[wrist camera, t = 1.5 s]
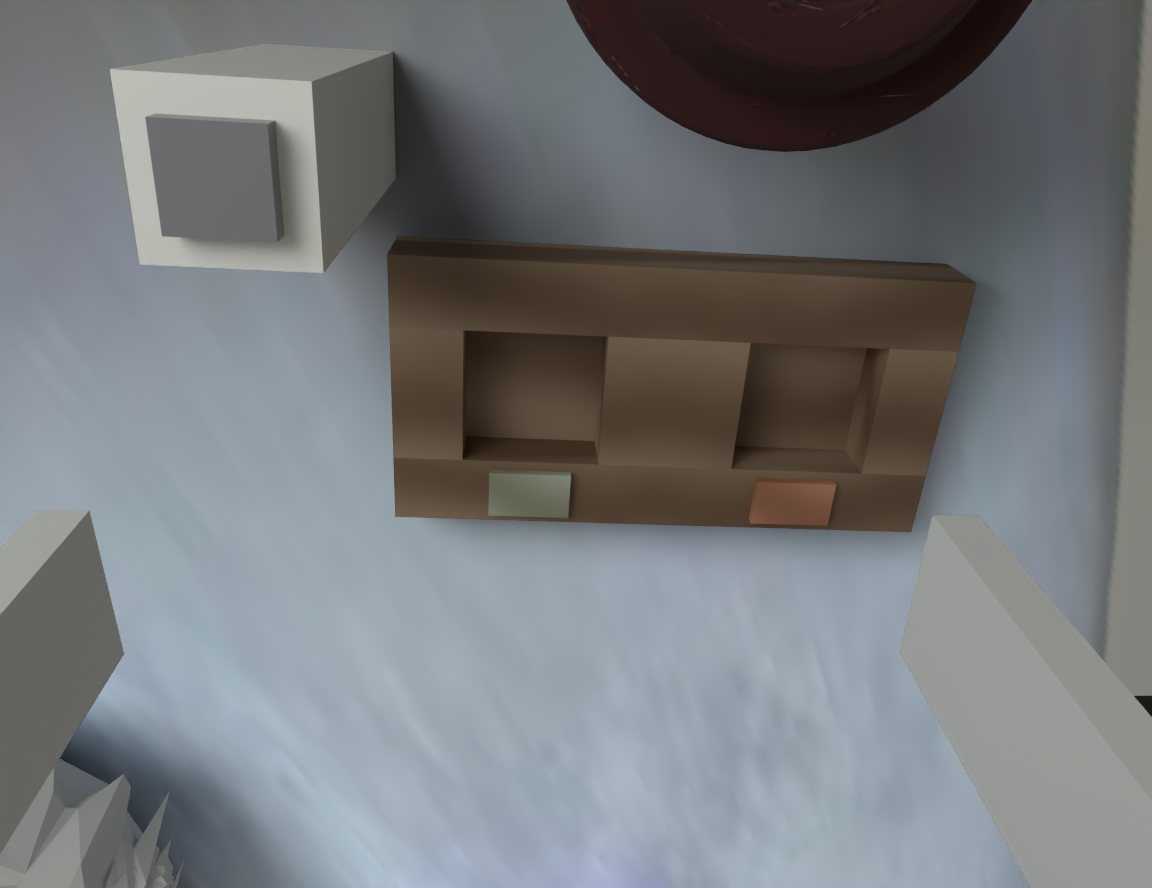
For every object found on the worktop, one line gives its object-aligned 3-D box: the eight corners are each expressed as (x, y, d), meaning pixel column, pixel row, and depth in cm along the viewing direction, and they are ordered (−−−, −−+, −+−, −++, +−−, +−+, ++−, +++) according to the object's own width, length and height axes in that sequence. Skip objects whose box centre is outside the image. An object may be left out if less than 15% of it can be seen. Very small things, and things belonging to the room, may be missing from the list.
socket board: (397, 236, 32) (386, 257, 29) (946, 264, 33) (980, 285, 31) (403, 484, 36) (394, 520, 34) (888, 500, 38) (913, 536, 35)
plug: (266, 43, 29) (97, 70, 18) (392, 51, 29) (305, 83, 18) (277, 171, 31) (129, 271, 19) (395, 178, 31) (317, 280, 20)
